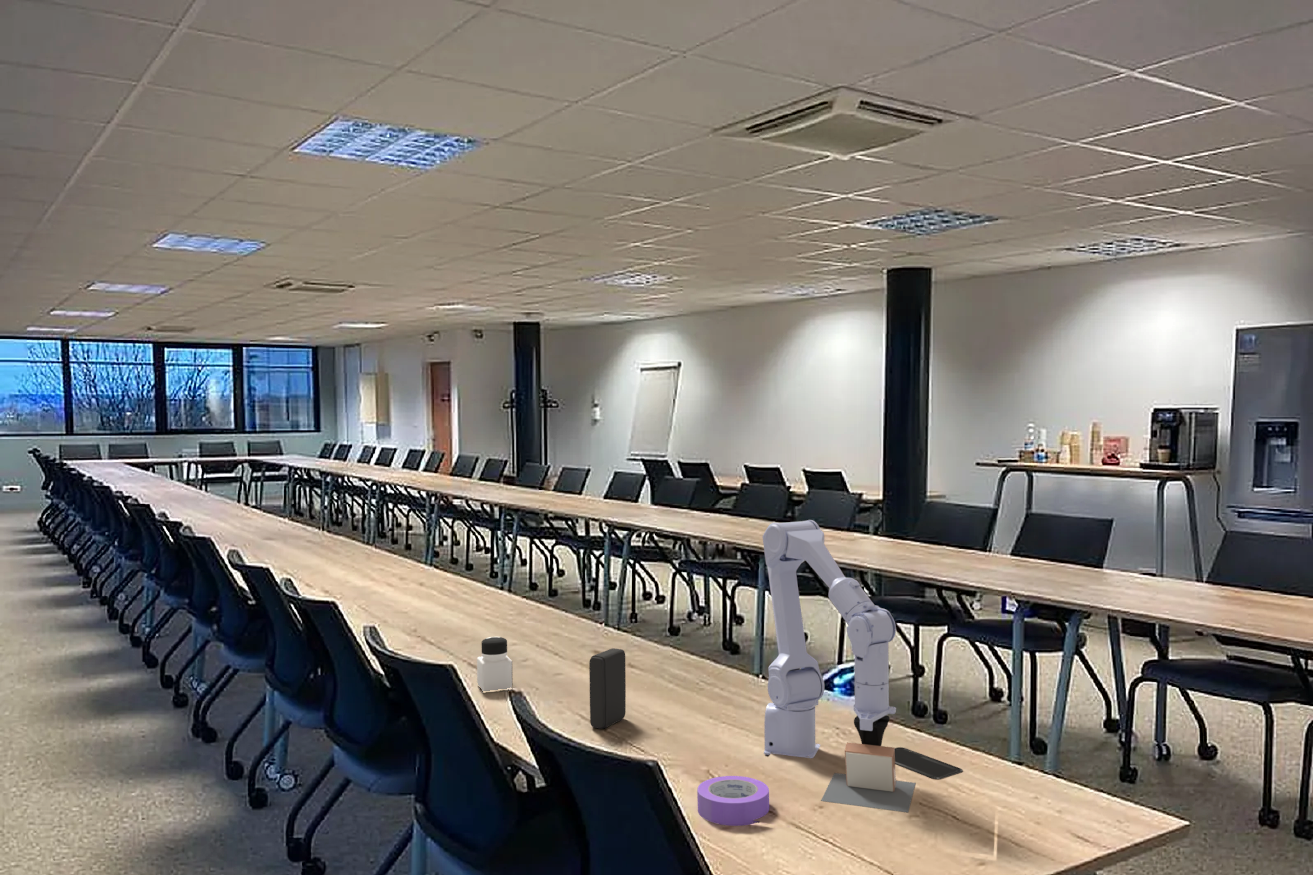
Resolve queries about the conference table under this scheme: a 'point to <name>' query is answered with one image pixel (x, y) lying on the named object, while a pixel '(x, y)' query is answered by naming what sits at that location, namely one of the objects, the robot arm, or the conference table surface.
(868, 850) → the conference table surface
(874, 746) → the light brown rectangular block
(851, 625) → the robot arm
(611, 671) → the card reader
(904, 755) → the phone
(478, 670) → the medicine bottle
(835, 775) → the mat
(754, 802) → the masking tape
